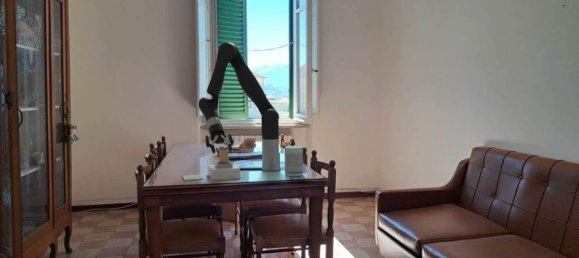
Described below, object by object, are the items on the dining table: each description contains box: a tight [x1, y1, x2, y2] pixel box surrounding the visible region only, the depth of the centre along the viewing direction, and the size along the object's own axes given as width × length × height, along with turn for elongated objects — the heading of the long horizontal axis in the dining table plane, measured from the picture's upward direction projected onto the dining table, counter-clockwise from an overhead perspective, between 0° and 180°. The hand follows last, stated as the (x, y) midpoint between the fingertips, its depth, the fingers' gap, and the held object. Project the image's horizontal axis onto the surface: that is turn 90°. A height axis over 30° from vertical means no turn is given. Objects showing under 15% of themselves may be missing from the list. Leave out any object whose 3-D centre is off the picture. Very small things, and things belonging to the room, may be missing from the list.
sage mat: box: [182, 174, 204, 182], centre depth 211 cm, size 9×9×1 cm
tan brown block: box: [218, 145, 229, 164], centre depth 215 cm, size 5×5×10 cm
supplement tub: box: [284, 145, 304, 178], centre depth 219 cm, size 10×10×15 cm
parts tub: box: [207, 160, 242, 181], centre depth 216 cm, size 16×13×7 cm
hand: (222, 152), depth 216 cm, fingers open, 8 cm apart
